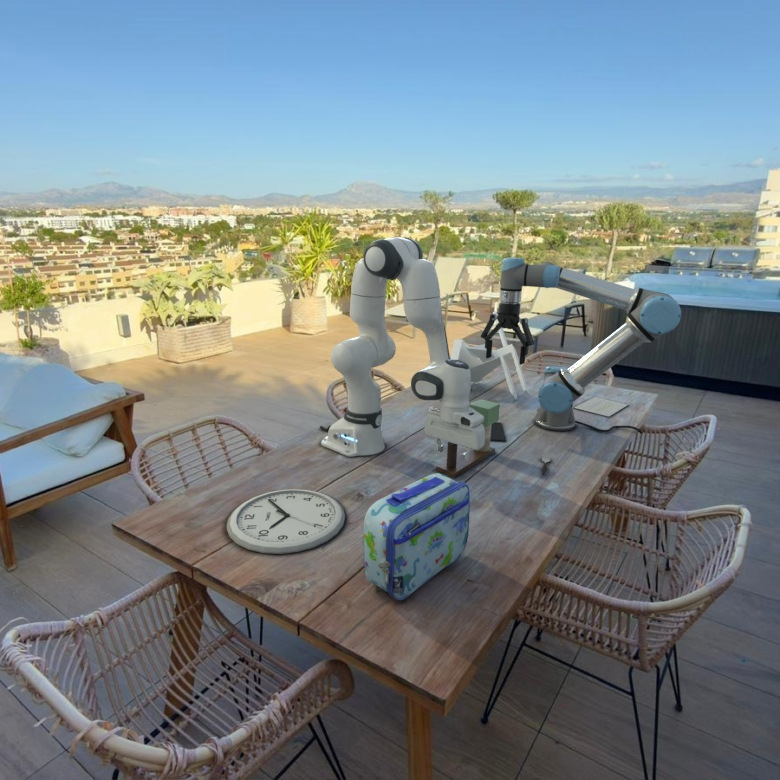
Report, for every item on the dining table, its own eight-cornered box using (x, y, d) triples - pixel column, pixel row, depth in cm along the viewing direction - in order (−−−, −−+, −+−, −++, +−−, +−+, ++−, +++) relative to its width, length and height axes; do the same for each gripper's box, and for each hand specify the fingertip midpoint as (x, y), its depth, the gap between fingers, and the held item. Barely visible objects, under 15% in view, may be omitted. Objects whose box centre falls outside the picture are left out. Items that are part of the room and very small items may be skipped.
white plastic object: (461, 429, 252) (437, 405, 227) (444, 352, 274) (420, 323, 250) (535, 404, 240) (518, 377, 215) (510, 326, 262) (492, 293, 237)
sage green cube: (498, 420, 175) (500, 403, 173) (487, 426, 170) (488, 409, 168) (479, 415, 180) (480, 399, 178) (467, 421, 174) (469, 404, 172)
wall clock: (345, 545, 122) (213, 550, 119) (345, 551, 122) (214, 556, 120) (344, 484, 150) (238, 487, 148) (345, 490, 151) (239, 492, 148)
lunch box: (392, 613, 103) (394, 520, 97) (356, 587, 110) (356, 498, 104) (472, 558, 121) (478, 476, 114) (437, 539, 128) (441, 461, 122)
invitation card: (608, 416, 214) (573, 407, 224) (608, 416, 214) (573, 408, 224) (628, 404, 229) (594, 396, 238) (628, 405, 229) (594, 397, 238)
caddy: (494, 452, 178) (497, 420, 175) (454, 477, 160) (456, 442, 157) (477, 446, 183) (479, 416, 179) (435, 470, 164) (437, 436, 161)
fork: (538, 475, 162) (539, 470, 161) (542, 455, 176) (543, 450, 175) (547, 477, 161) (547, 471, 160) (550, 457, 175) (551, 451, 174)
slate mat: (500, 423, 205) (500, 422, 204) (504, 441, 188) (505, 440, 187) (454, 421, 207) (454, 419, 206) (454, 438, 190) (454, 437, 189)
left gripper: (420, 408, 163) (419, 449, 167) (478, 423, 150) (475, 467, 154) (432, 403, 167) (431, 443, 171) (489, 417, 155) (486, 460, 159)
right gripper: (473, 300, 190) (470, 356, 197) (538, 307, 175) (532, 368, 182) (484, 298, 196) (480, 353, 202) (547, 305, 181) (541, 364, 187)
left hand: (452, 454), depth 163 cm, fingers open, 8 cm apart
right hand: (504, 360), depth 192 cm, fingers open, 13 cm apart
